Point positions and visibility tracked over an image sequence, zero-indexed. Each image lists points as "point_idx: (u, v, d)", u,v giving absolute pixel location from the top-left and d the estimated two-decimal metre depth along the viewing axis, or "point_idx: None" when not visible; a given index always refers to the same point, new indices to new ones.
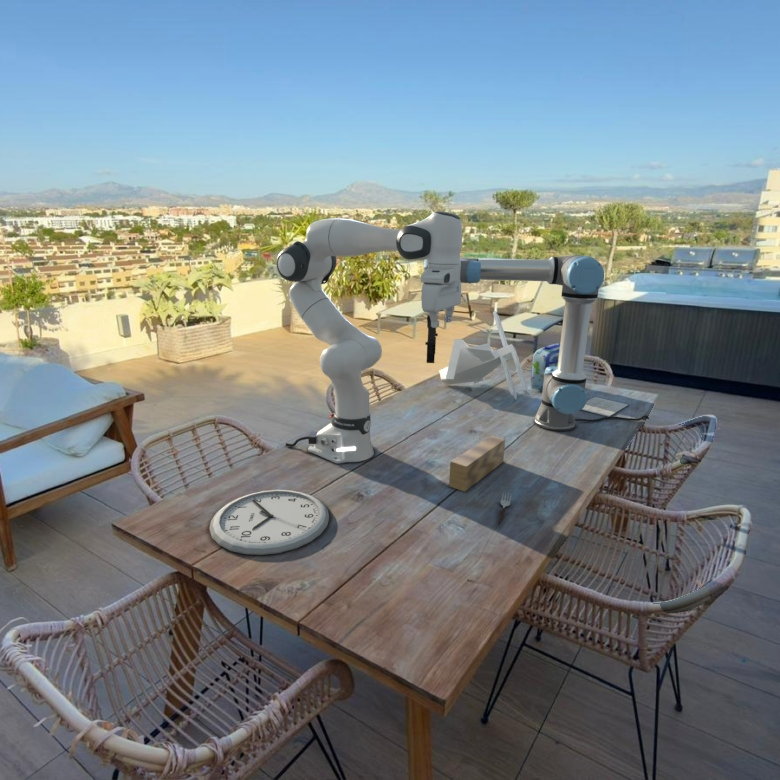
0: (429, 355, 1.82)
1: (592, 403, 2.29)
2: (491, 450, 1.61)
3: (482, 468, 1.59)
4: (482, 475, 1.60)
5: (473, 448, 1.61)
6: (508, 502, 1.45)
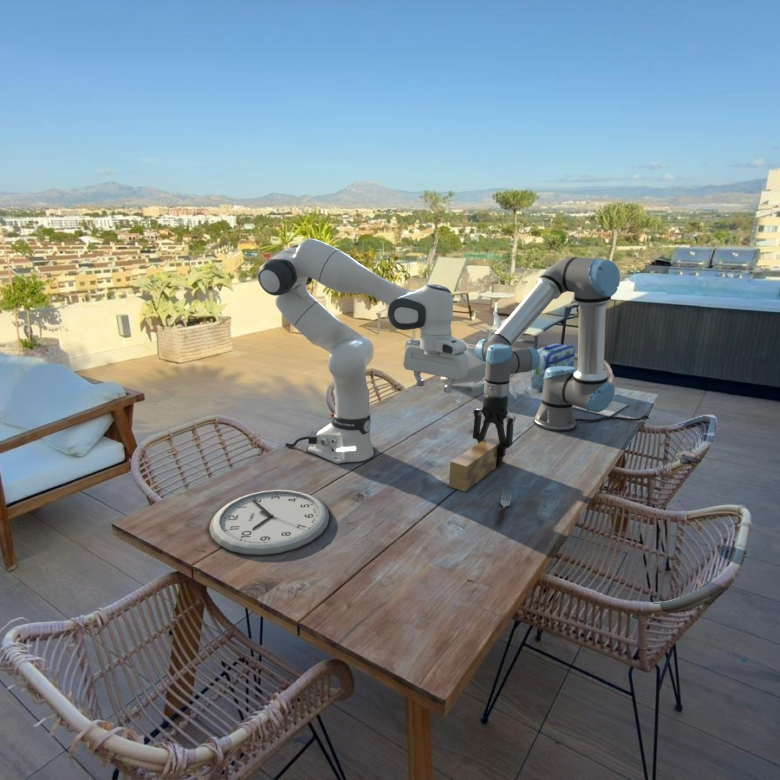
0: (499, 458, 1.66)
1: None
2: (491, 450, 1.61)
3: (482, 468, 1.59)
4: (482, 475, 1.60)
5: (473, 448, 1.61)
6: (508, 502, 1.45)
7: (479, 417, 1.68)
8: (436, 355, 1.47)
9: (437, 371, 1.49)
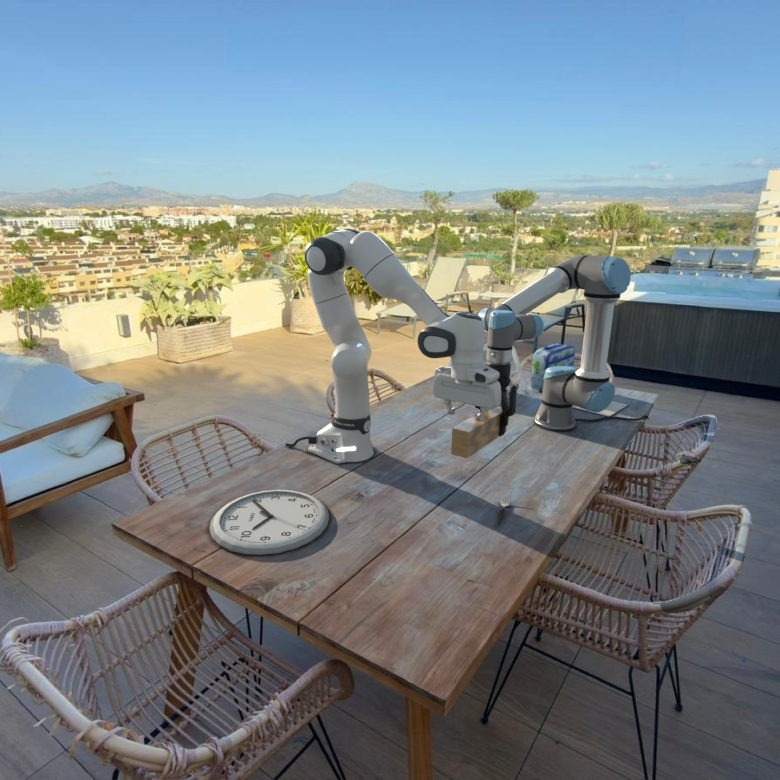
0: (502, 428, 1.63)
1: None
2: (493, 418, 1.58)
3: (485, 436, 1.56)
4: (485, 443, 1.56)
5: (475, 416, 1.58)
6: (508, 502, 1.45)
7: None
8: (468, 384, 1.44)
9: (470, 400, 1.45)
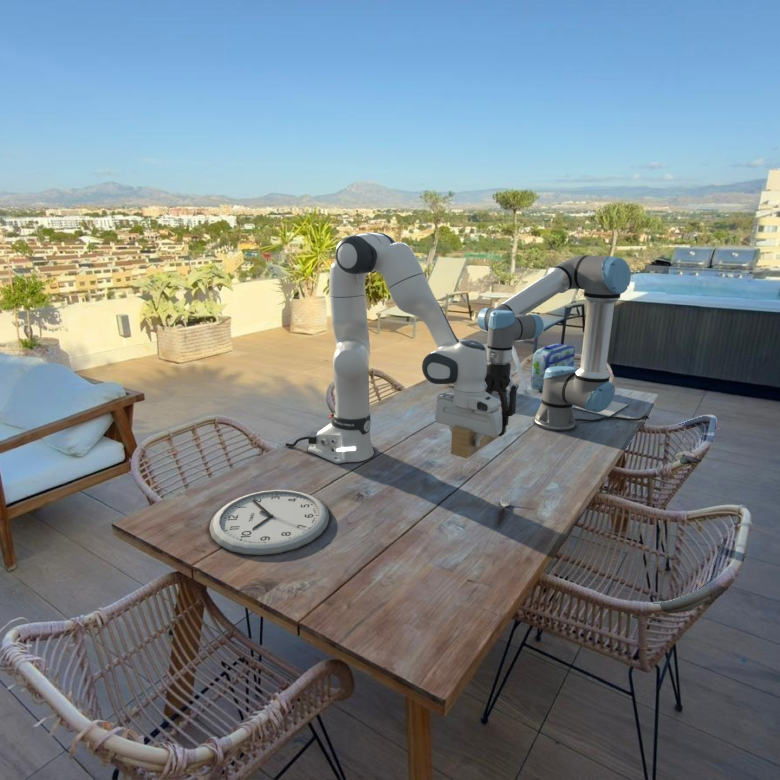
0: (502, 428, 1.63)
1: None
2: None
3: (485, 436, 1.56)
4: (484, 443, 1.56)
5: None
6: (508, 502, 1.45)
7: None
8: (470, 411, 1.46)
9: (471, 427, 1.48)
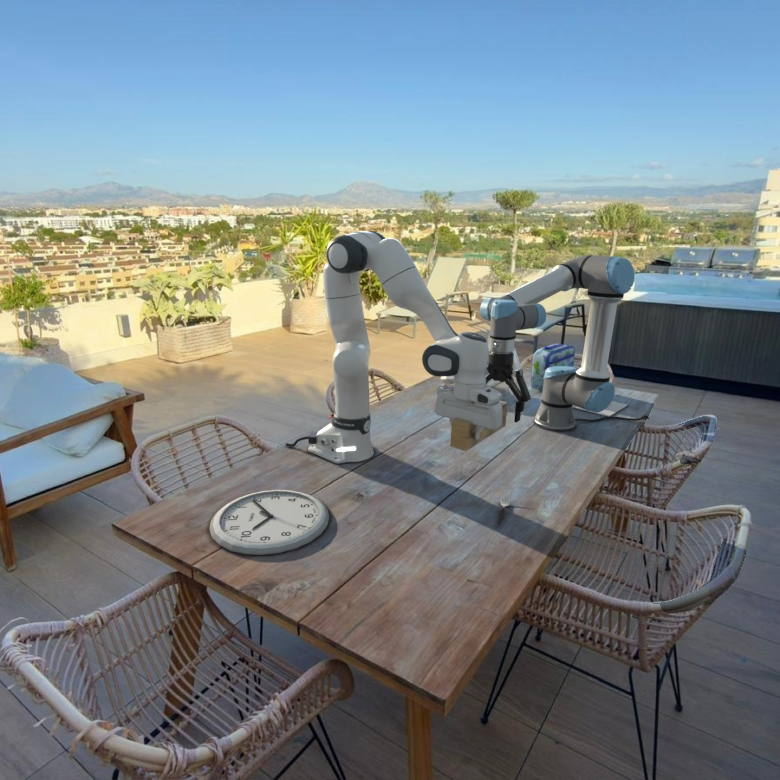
0: (518, 414, 1.61)
1: None
2: None
3: (484, 429, 1.55)
4: (484, 436, 1.56)
5: None
6: (508, 502, 1.45)
7: None
8: (470, 404, 1.45)
9: (471, 420, 1.47)
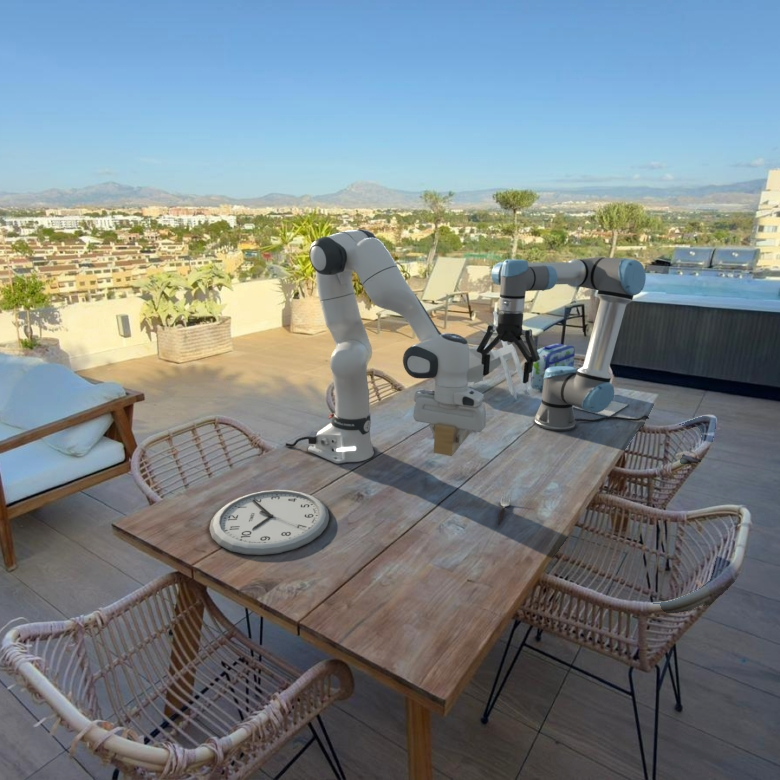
0: (526, 375, 1.61)
1: None
2: None
3: None
4: (463, 439, 1.52)
5: None
6: (508, 502, 1.45)
7: (491, 333, 1.65)
8: (454, 407, 1.41)
9: (454, 423, 1.43)
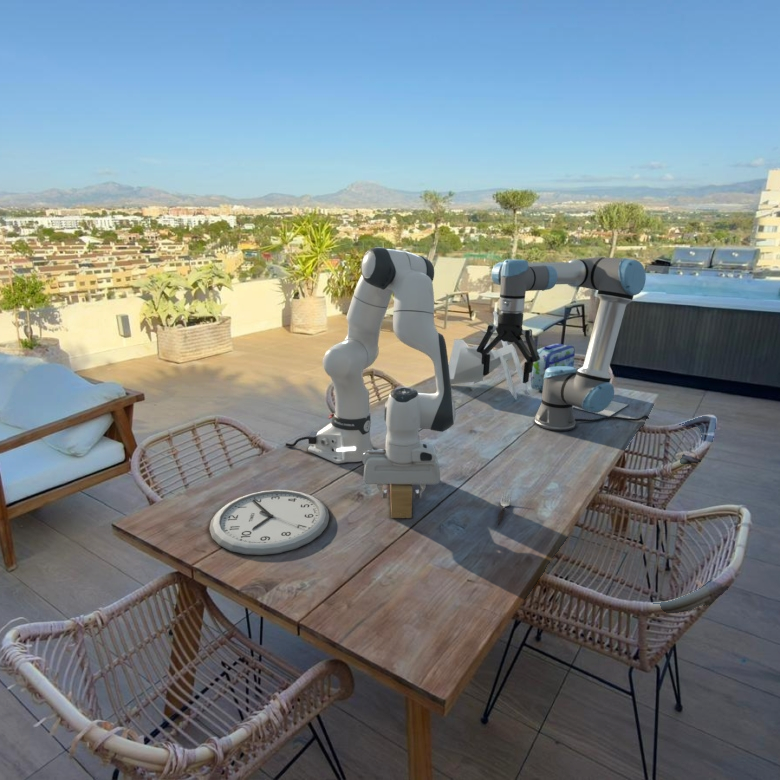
0: (526, 374, 1.61)
1: None
2: None
3: None
4: None
5: None
6: (508, 502, 1.45)
7: (491, 333, 1.65)
8: (410, 464, 1.34)
9: (410, 480, 1.37)
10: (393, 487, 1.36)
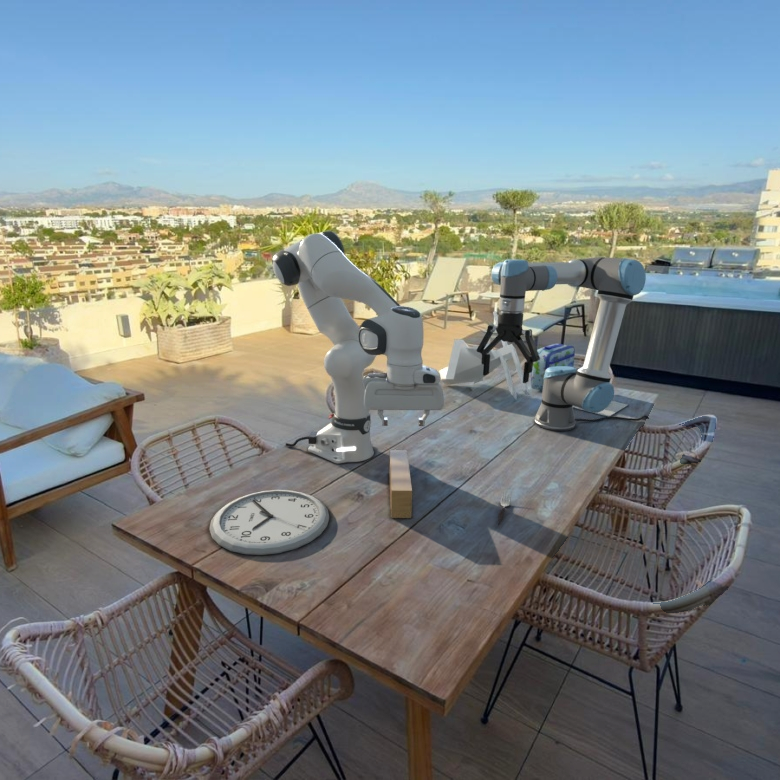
0: (526, 374, 1.61)
1: None
2: (408, 465, 1.50)
3: None
4: None
5: (393, 468, 1.47)
6: (508, 502, 1.45)
7: (491, 333, 1.65)
8: (412, 387, 1.28)
9: (413, 405, 1.30)
10: (393, 487, 1.36)
